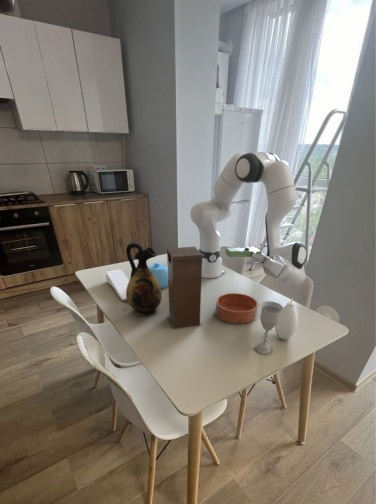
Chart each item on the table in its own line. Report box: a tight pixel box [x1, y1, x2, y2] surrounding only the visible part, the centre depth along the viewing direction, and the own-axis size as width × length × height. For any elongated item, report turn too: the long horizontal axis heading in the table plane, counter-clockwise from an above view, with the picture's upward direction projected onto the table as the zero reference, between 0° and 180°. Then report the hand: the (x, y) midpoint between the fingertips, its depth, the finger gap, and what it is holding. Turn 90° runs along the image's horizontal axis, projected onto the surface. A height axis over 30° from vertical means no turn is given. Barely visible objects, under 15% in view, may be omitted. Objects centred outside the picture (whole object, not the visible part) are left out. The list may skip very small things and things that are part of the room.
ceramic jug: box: [125, 241, 163, 317], centre depth 121 cm, size 17×15×30 cm
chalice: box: [256, 300, 284, 355], centre depth 101 cm, size 7×7×18 cm
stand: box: [166, 246, 203, 329], centre depth 114 cm, size 10×11×30 cm
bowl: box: [215, 292, 259, 324], centre depth 126 cm, size 18×18×6 cm
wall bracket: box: [105, 268, 130, 301], centre depth 147 cm, size 10×7×28 cm
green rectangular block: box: [225, 246, 262, 258], centre depth 112 cm, size 4×13×3 cm, turn 105°
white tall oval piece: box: [274, 296, 299, 340], centre depth 107 cm, size 8×8×18 cm
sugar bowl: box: [148, 262, 168, 290], centre depth 150 cm, size 15×15×12 cm
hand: (249, 251), depth 112 cm, fingers closed on green rectangular block, 4 cm apart
